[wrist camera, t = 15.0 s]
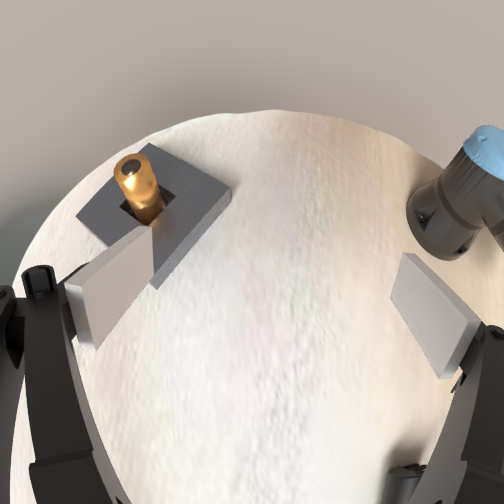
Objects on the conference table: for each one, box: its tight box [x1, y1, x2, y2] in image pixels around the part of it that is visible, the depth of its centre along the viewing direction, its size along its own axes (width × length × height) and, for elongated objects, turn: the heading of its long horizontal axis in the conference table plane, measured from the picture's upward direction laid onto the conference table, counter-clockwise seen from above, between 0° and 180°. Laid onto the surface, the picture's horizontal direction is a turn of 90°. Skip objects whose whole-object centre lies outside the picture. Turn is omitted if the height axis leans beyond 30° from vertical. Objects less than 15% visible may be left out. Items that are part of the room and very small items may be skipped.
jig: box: [76, 143, 231, 289], centre depth 44 cm, size 18×18×4 cm
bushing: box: [114, 153, 166, 227], centre depth 40 cm, size 5×5×12 cm
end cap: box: [382, 463, 427, 504], centre depth 26 cm, size 10×7×7 cm
